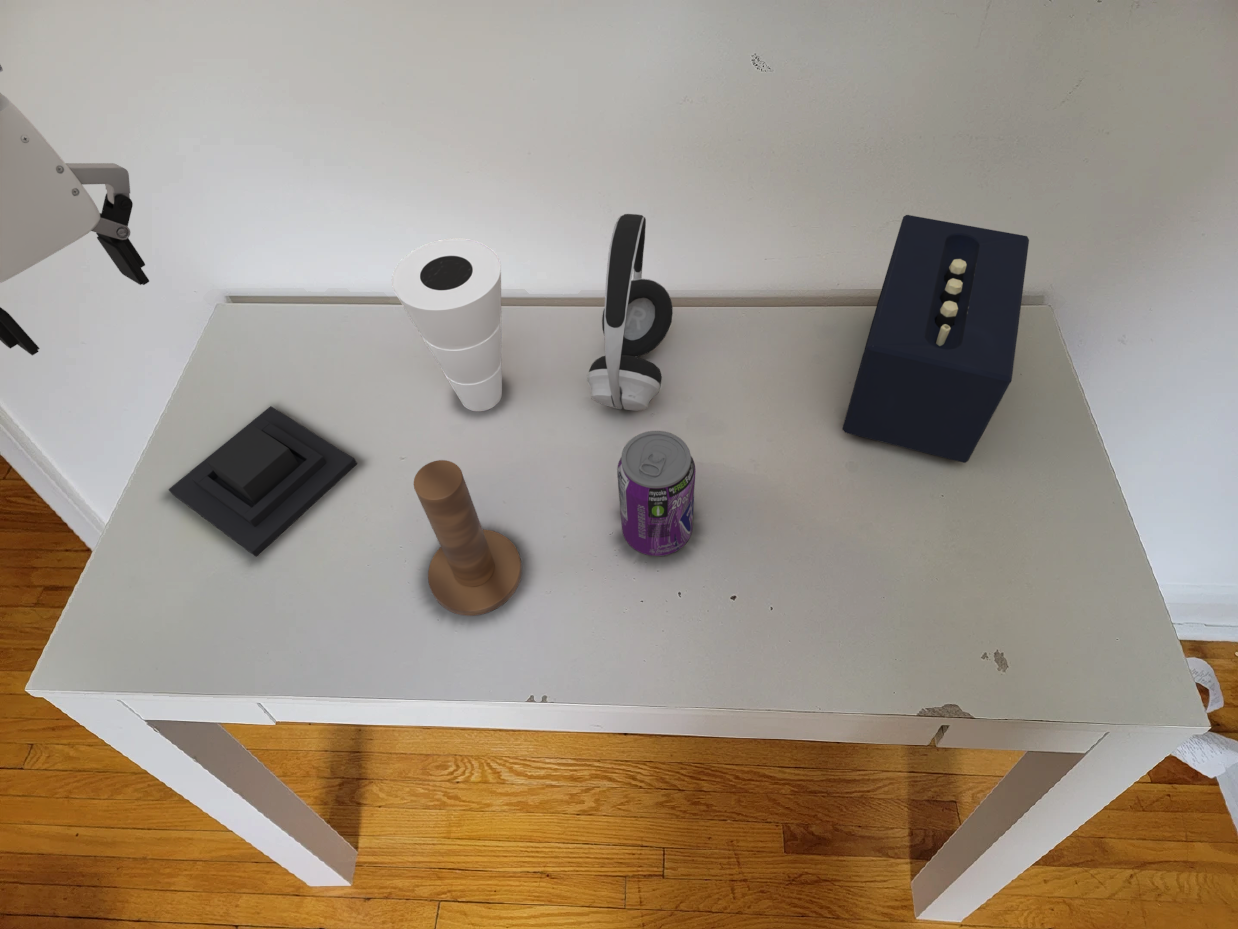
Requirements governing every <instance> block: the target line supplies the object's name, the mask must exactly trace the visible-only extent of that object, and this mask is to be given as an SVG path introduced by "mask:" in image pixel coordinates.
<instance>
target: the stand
mask: <svg viewBox="0 0 1238 929" xmlns="http://www.w3.org/2000/svg"><path fill="white" fill-rule="evenodd" d="M413 489H414V491H415V493H416V496H417V499H418V500H419V502H420V504H421V507H422V509H423V511H424V513H425V516H426V518H427V520H428V522H429V524H430V526H431V528H432V530H433V533H434V535H435V537H436V540H437V541H438V544H439V546H440V547H439V548H438V549H437V550H436V552H435V553H434V555H433V556H432V558H431V560H430V563H429V567H428V571H427V579H428V586H429V589H430V591H431V593H432V595H433V597H434V599H435V600H436V601H437V603H438V604H439V605H440V606H441V607H443V608H444V609H445V610H447V611H449V612H451V613H453V614H456V615H460V616H467V617H469V616H470V617H471V616H472V617H473V616H481V615H484V614H488V613H490V612H493V611H494V610H496V609H498V608H500V607H501V606H503V605H504V604H505V603H506V602H507V601H509V600H510V598H511V597H512V596H514V594H515V592H516V591H517V589H518V587H519V585H520V582H521V579H522V575H523V574H522V573H523V565H522V560H521V557H520V553H519V551H518V549H517V547H516V546H515V544H514V543H513V542H512V541H511V540H510V539H509V538H508V537H507V536H505V535H503V534H501V533H500V532H498V531H494V530H490V529H483V527H482V524H481V522H480V519H479V516H478V514H477V510H476V507H475V505H474V502H473V499H472V496H471V493H470V491H469V488H468V486H467V482H466V480H465V477H464V474H463V471H462V469H461V467H460V466H459V465H458V464H456V463H455V462H453V461H450V460H445V459H438V460H433V461H431V462H428V463H425V465H423V466H422V467H420V468H419V470H418V471H417V472H416V474H415V476H414V478H413Z"/></svg>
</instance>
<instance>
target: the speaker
mask: <svg viewBox="0 0 1238 929" xmlns="http://www.w3.org/2000/svg"><path fill="white" fill-rule="evenodd" d="M1029 244H1030V239H1029V236H1027V235H1023V234H1018V233H1012V232H1007V231H1001V230H995V229H989V228H984V227H978V226H973V225H967V224H961V223H955V222H950V221H945V220H938V219H933V218H927V217H923V216H922V217H921V216H918V215H917V216H916V215H911V214H905V215H904V216H903V217H902V219H901V223H900V226H899V229H898V233H897V237H896V239H895V243H894V247H893V249H892V253H891V256H890V259H889V262H888V266H887V270H886V273H885V277H884V280H883V282H882V287H881V290H880V293H879V297H878V300H877V304H876V307H875V311H874V314H873V318H872V321H871V325H870V328H869V332H868V336H867V339H866V343H865V346H864V350H863V354H862V357H861V361H860V363H859V368H858V371H857V375H856V378H855V382H854V385H853V388H852V392H851V396H850V400H849V404H848V406H847V410H846V414H845V417H844V421H843V424H842V431H843V432H844V433H845V434H849V435H854V436H857V437H861V438H865V439H869V440H873V441H876V442H881V443H885V444H889V445H893V446H897V447H900V448H904V449H908V450H912V451H916V452H920V453H925V454H928V455H932V456H936V457H941V458H944V459H948V460H952V461H956V462H960V463H964V464H967V462H969V460H970V458H971V457H972V455H973V453H974V451H975V450H976V447H977V445H978V443H979V442H980V440H981V438H982V436H983V434H984V432H985V430H987V427H988V426H989V423H990V421H991V419H992V417H993V416H994V414H995V412H996V410H997V409H998V406H999V404H1001V401H1002V399H1003V397H1004V396H1005V393H1006V392H1007V390H1008V388H1009V386H1010V384H1011V382H1012V381H1013V380H1012V379H1013V372H1014V364H1015V356H1016V348H1017V342H1018V341H1017V340H1018V333H1019V332H1018V331H1019V325H1020V316H1021V310H1022V302H1023V301H1022V299H1023V293H1024V292H1023V291H1024V284H1025V277H1026V276H1025V275H1026V268H1027V259H1028V252H1029Z"/></svg>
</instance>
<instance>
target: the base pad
mask: <svg viewBox="0 0 1238 929" xmlns="http://www.w3.org/2000/svg"><path fill="white" fill-rule="evenodd" d="M251 425H254V426H256V427H257V428H259V429H260V430H262V431H263V432H265V433H266V434H268V435H269V436H271V437H272V438H274V439H275V440H277V441H278V442H280V443H281V444H283V445H284V446H286V447H287V448H289V450H290V451H291V453H292V454H293V456H294V458H295V459H296V461H297V462H298V464H299V465H300V466H299V467H298V468H296V469H295V470H294V471H293V472H292V473H291V474H290V475H289V476H287V477H286V478H285V479H284V480H283V481H282V482H281V483H279V484H278V485H277V486H276V487H275V488H274V489H273V490H271V491H270V492H269V493H268V494H267V495H266V496H265V497H264V498H262V499H261V500H260V501H259V502H258V503H257V504H256V505H255V504H253V503H252V502H250V501H249V500H248V499H246V498H245V497H243V496H242V495H241V494H239V493H238V492H237V491H235V490H234V489H232V488H231V487H230V486H228V485H227V484H225V483H224V482H223V481H221V479H220V478H219V477H218V476H217V474H216V473H215V472H214V471H213V469H212V468H211V467H210V466H209V464H208V463H207V460H209V459H210V458H211V457H212V456H214V455H215V454H216V453H217V452H219V451H220V450H221V449H222V448H224V447H225V446H226V445H227V444H228V443H230V442H231V441H232V440H233V439H235V438H236V437H237V436H238V435H240V434H241V433H242V432H243V431H244V430H246V429H247V428H248V427H249V426H251ZM357 464H358V463H357V461H356V459H355V458H354V457H352V456H351V455H349V454H348V453H346V452H345V451H343V450H341V449H340V448H339V447H336V446H335V445H333V444H332V443H330V442H329V441H327V440H326V439H324V438H322V437H321V436H319V435H317V434H316V433H315V432H313V431H311V430H310V429H309V428H306V427H305V426H303V425H301V424H300V423H299V422H297V421H296V420H294V419H292V418H290V416H287V415H285V414H284V413H282V412H281V411H279V410H278V409H276V408H275V407H273V406H268V408H266V409H265V410H264V411H262V412H261V413H260V414H259V415H258V416H256V417H255V418H254V419H253V420H252V421H251V422H249V423H248V424H247V425H245V426H244V427H243V428H242V429H241V430H239V431H238V432H237V433H236V434H234V435H233V436H232V437H231V438H230V439H228V440H227V441H226V442H225V443H224V444H222V445H221V446H220V447H218V448H217V449H216V450H215V451H214V452H212V453H211V454H209V456H208V457H206V458H205V459H204V460H202V461H201V462H200V463H199V464H198V465H197V466H195V467H194V468H193V469H191V470H190V471H189V472H188V473H187V474H185V475H184V476H183V477H182V478H181V479H179V480H178V481H177V482H176V483H174V484H173V485H172V486H171V487H169V488H168V491H169V492H170V494H172V496H174V497H175V498H176V499H178V500H179V501H181V502H182V503H183V504H185V505H186V506H187V507H188V508H190V509H191V510H192V511H194V512H195V513H196V514H198V515H199V516H200V517H202V518H203V519H204V520H206V521H207V522H209V523H210V524H211V525H213V526H214V527H215V528H217V529H218V530H219V531H220V532H222V533H223V534H224V535H226V536H227V537H229V538H230V539H231V540H233V541H234V542H235V543H236V544H238V545H239V546H241V547H242V548H243V549H245V550H246V551H247V552H248V553H250V554H251V555H253V556H254V557H257V556H259V555H260V554H261V553H262V552H263V551H264V550H265V549H266V548H268V547H269V546H270V545H271V544H272V543H273V542H274V541H275V540H276V539H277V538H278V537H280V536H281V535H282V534H283V533H284V532H286V530H287V529H288V528H289V527H290V526H291V525H293V524H294V523H295V522H296V521H297V520H298V519H299V518H300V517H301V516H302V515H303V514H304V513H306V512H307V511H308V510H309V509H310V508H311V507H312V506H313V505H314V504H315V503H316V502H318V500H320V499H321V498H322V497H323V496H324V495H325V494H326V493H327V492H328V491H330V489H332V488H333V487H334V486H335V485H336V484H337V483H338V482H339V481H340V480H341V479H342V478H343V477H344V476H346V475H347V474H348V473H349V472H350V471H351V470H353V468H354V467H356V466H357Z"/></svg>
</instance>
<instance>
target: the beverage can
mask: <svg viewBox="0 0 1238 929" xmlns="http://www.w3.org/2000/svg"><path fill="white" fill-rule="evenodd" d="M616 470H617V471H616V475H617V477H616V478H617V487H618V499H619V510H620V511H619V512H620V525H621V533H622V536H623V538H624V539H625V541H626V543H627V544H628V545H629V546H630V547H631V548H632V549H634V550H635V551H637V552H639V553H641V554H644V555H647V556H651V557H661V556H667V555H671V554H673V553H676V552H677V551H679V550H681V549H682V548H683V547H684V546H685V545H686V544H687V543H688V541H690V538H691V536H692V533H693V528H694V527H693V526H694V507H695V490H696V489H695V488H696V465H695V460H694V458H693V456H692V454H691V451H690V448H689V446H688V444H687V443H686V442H685V441H684V440H683V439H682V438H681V437H679V436H677V435H676V434H674V433H671V432H668V431H665V430H649V431H643V432H641V433H639V434H637V435H635V436H633V437H632V438H631V439H630V440H628V442H626V444H625V445H624V447H623V449H622V452H621V456H620V458H619V461H618V463H617V468H616Z"/></svg>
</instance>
